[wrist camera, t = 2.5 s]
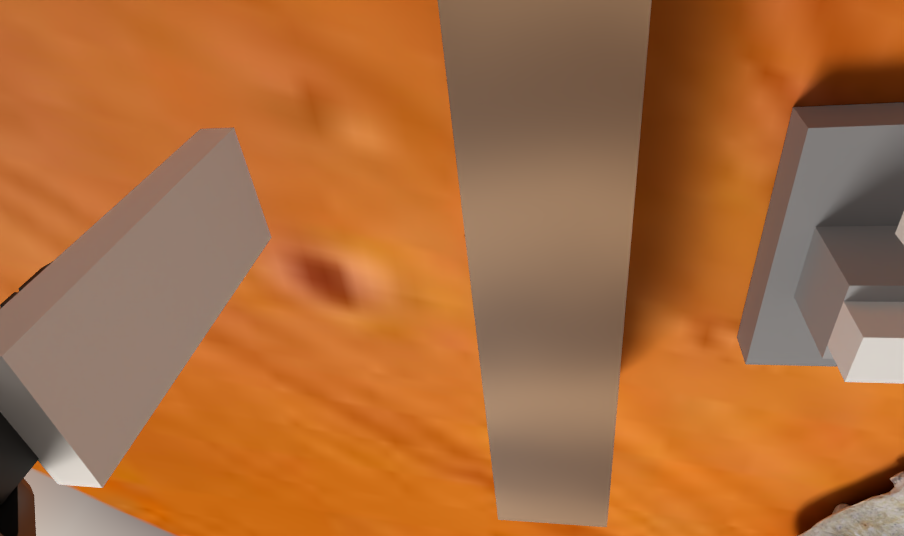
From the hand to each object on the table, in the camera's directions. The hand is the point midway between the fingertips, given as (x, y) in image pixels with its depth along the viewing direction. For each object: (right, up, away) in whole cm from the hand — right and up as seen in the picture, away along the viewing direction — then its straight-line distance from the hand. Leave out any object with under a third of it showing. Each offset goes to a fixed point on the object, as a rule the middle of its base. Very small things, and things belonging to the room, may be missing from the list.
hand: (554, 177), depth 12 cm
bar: (+1, -1, +8) cm, 8 cm away
